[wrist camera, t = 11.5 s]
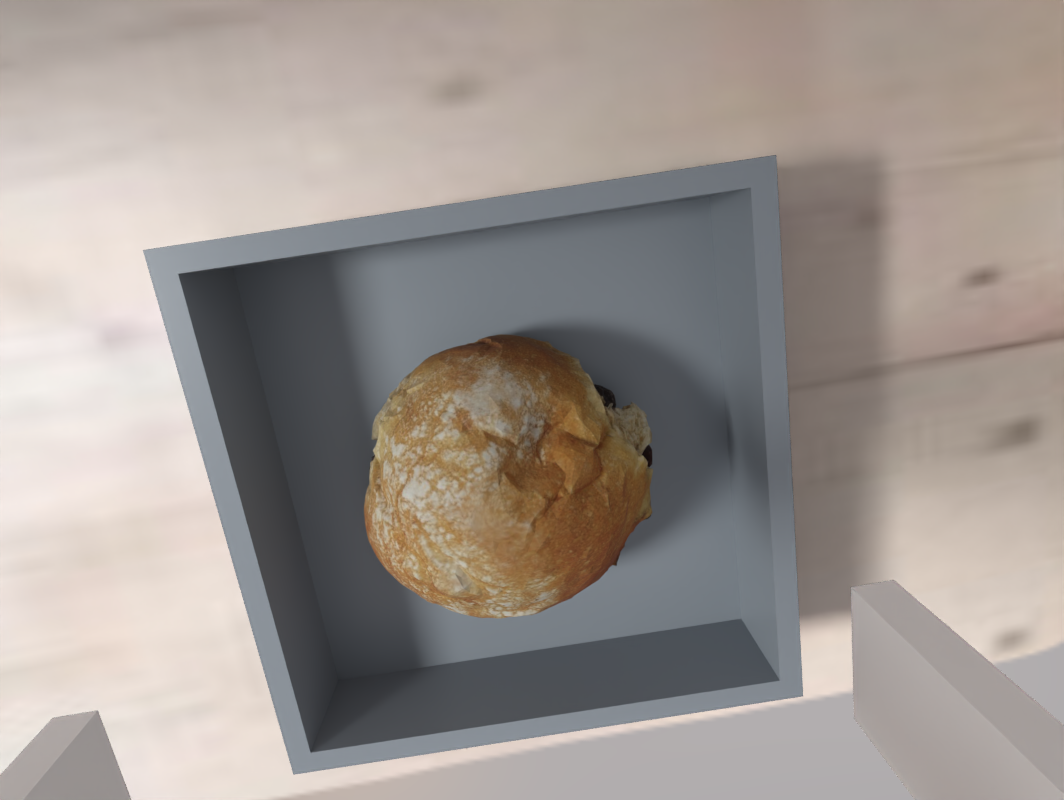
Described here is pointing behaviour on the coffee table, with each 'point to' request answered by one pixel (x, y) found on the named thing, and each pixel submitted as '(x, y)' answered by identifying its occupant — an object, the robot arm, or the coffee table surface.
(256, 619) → the grey tray
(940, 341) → the coffee table surface
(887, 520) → the coffee table surface
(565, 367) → the bread roll
